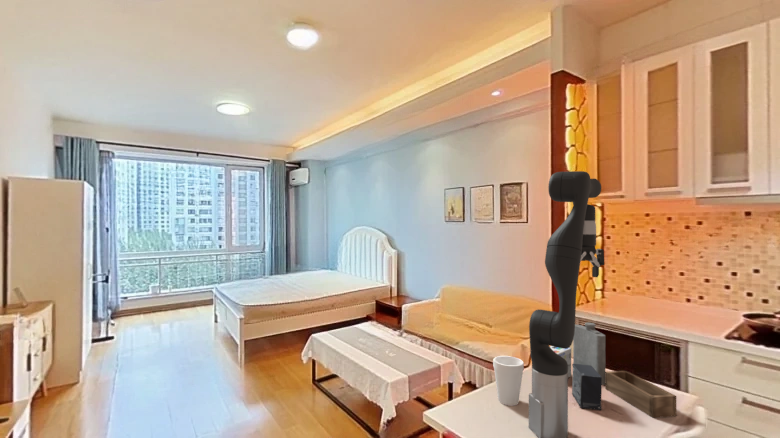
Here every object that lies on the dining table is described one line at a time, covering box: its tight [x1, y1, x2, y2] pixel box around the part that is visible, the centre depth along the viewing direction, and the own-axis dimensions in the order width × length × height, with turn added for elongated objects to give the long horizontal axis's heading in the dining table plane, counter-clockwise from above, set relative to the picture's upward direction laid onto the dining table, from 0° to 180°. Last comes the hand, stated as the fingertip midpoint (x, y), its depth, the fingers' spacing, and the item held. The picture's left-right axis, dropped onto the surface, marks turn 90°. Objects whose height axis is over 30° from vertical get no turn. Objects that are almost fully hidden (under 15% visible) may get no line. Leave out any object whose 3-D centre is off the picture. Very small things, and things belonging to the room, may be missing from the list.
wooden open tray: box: [604, 370, 677, 419], centre depth 124 cm, size 8×20×6 cm, turn 8°
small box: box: [571, 363, 603, 411], centre depth 124 cm, size 11×6×10 cm, turn 168°
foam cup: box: [492, 355, 525, 407], centre depth 124 cm, size 10×9×13 cm
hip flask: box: [572, 322, 606, 386], centre depth 145 cm, size 16×4×20 cm, turn 9°
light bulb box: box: [549, 345, 572, 378], centre depth 144 cm, size 11×7×11 cm, turn 130°
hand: (584, 277), depth 140 cm, fingers open, 8 cm apart
